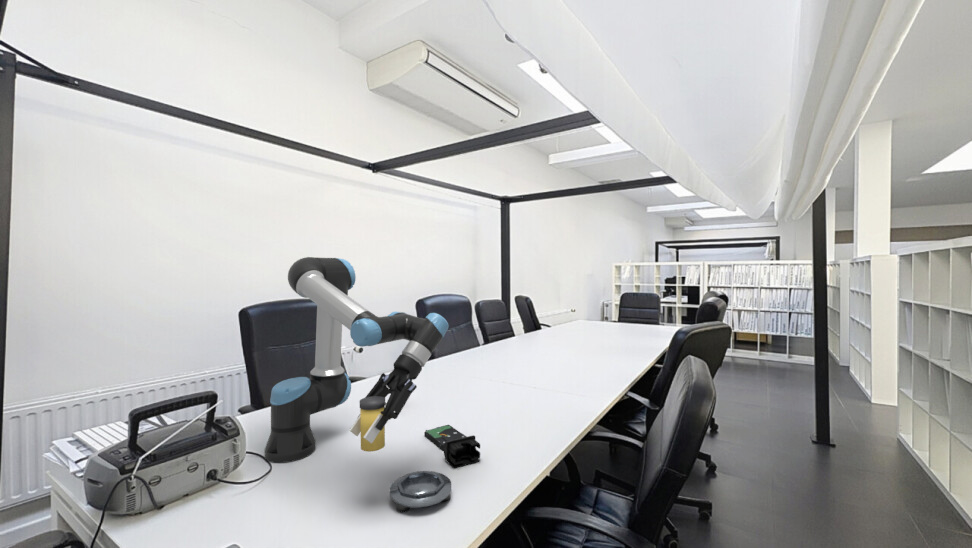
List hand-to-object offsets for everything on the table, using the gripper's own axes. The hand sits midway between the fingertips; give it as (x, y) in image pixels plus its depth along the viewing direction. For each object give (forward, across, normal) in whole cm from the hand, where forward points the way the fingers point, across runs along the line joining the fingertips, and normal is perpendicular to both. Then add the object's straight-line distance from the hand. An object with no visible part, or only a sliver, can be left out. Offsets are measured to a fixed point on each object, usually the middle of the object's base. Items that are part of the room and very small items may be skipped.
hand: (360, 436), depth 99 cm
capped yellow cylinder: (0, 0, -5) cm, 5 cm away
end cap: (-12, -2, -38) cm, 39 cm away
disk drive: (-17, +14, -43) cm, 48 cm away
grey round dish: (+3, -8, -22) cm, 24 cm away
